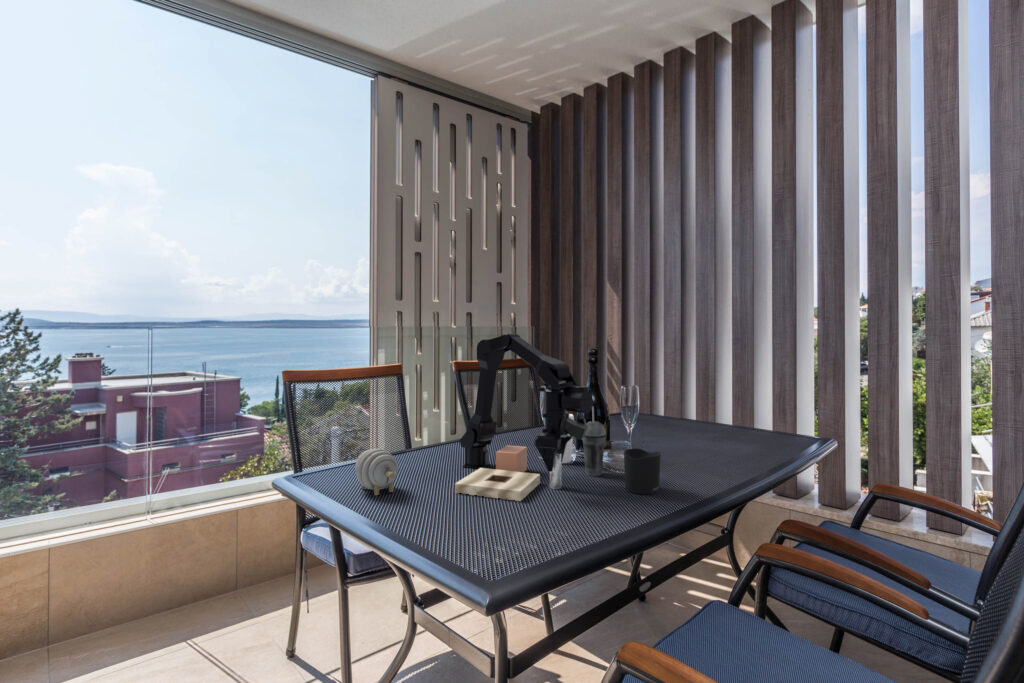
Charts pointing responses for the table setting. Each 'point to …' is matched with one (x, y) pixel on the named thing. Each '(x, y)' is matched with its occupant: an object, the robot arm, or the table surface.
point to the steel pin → (556, 472)
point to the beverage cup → (594, 447)
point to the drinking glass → (568, 447)
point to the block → (512, 458)
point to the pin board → (498, 484)
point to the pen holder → (641, 471)
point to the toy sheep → (376, 470)
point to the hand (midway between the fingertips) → (555, 466)
